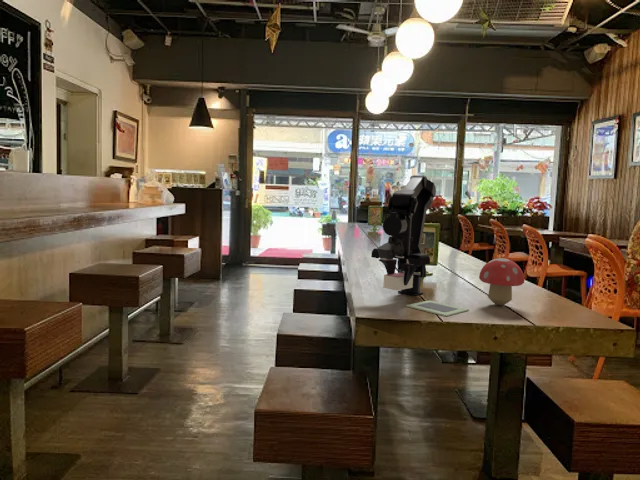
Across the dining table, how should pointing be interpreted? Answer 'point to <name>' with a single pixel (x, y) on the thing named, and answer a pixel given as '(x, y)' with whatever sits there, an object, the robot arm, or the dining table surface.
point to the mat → (437, 308)
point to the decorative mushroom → (501, 279)
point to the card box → (396, 281)
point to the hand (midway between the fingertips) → (398, 283)
